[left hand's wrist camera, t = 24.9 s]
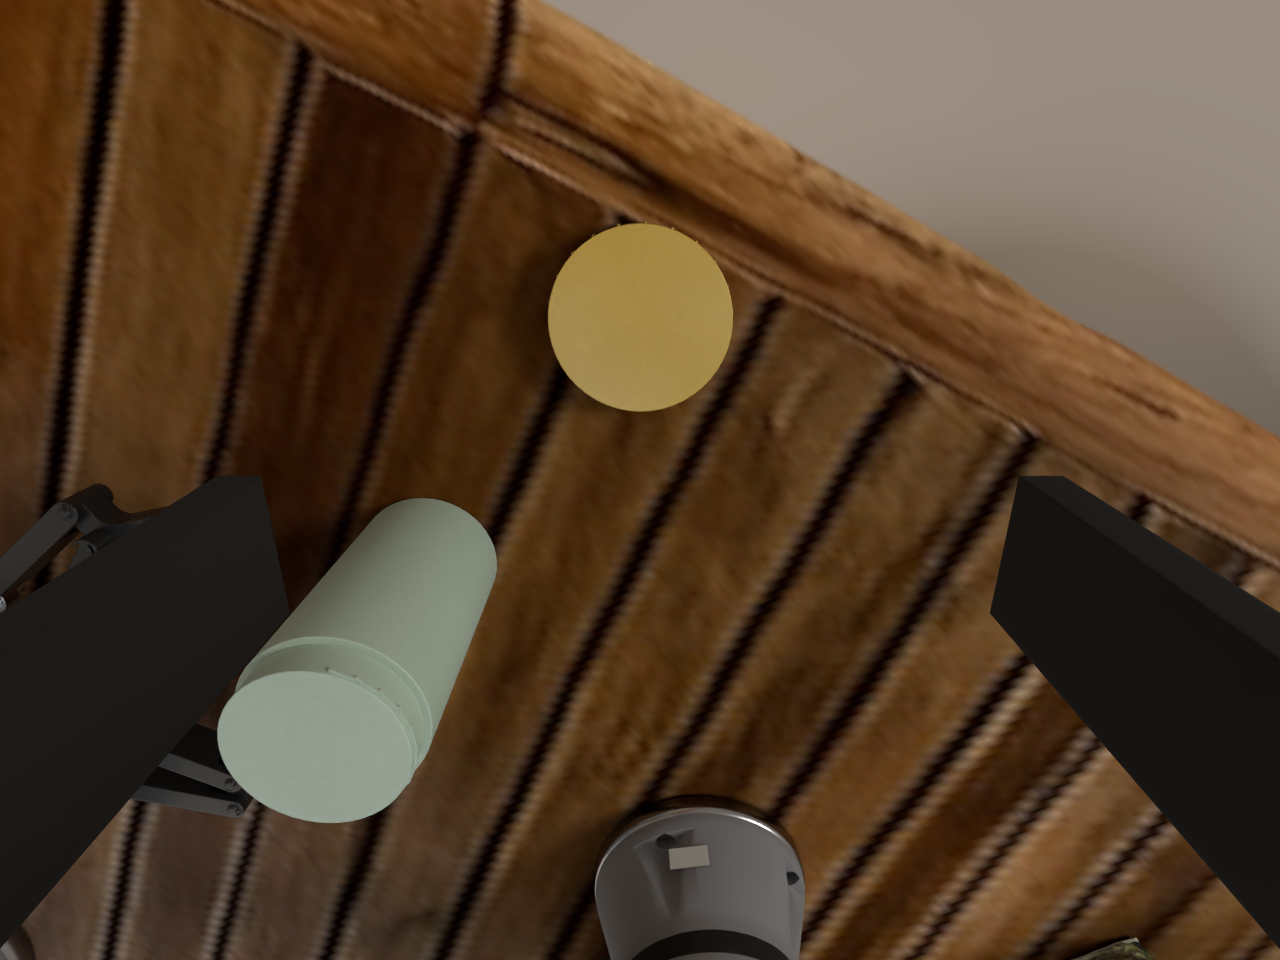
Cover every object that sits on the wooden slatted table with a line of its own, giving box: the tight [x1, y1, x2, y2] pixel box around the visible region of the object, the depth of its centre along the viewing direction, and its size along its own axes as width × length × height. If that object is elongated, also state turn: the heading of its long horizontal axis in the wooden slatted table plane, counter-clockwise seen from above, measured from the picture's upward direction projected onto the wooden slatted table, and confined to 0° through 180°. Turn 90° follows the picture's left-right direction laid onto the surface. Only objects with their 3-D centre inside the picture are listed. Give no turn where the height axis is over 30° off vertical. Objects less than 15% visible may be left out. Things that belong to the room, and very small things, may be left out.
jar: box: [217, 498, 497, 823], centre depth 35 cm, size 8×8×16 cm
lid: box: [548, 221, 733, 412], centre depth 36 cm, size 10×10×2 cm
